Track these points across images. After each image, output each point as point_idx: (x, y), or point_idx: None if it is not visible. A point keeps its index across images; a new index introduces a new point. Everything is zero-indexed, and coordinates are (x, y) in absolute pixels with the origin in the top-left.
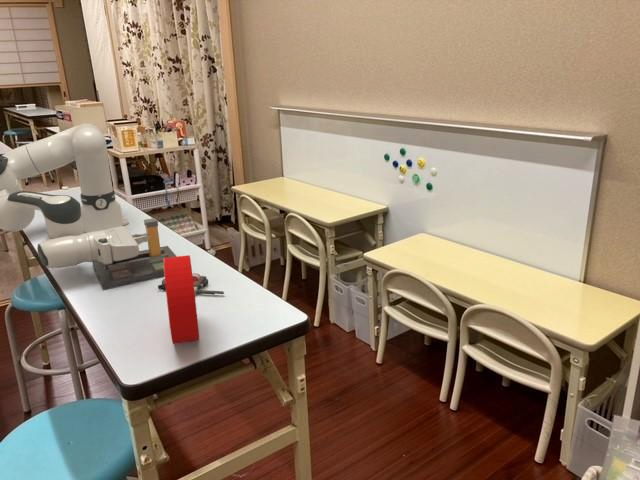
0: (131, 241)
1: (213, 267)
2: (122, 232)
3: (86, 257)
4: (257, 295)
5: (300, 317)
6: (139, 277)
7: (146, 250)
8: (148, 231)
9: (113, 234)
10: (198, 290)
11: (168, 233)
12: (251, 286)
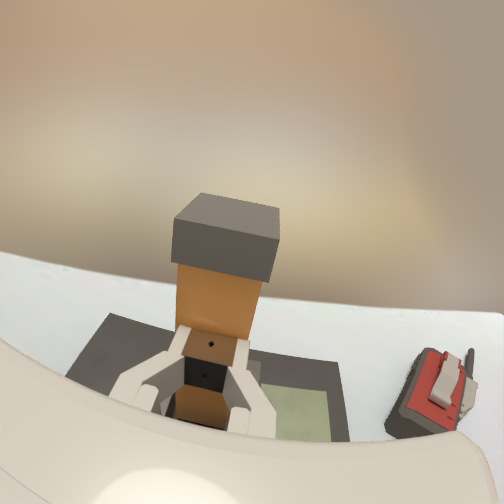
0: (414, 467)
1: (329, 319)
2: (50, 432)
3: None
4: (462, 321)
5: (500, 314)
6: None
7: (75, 373)
8: (255, 306)
9: (8, 499)
10: (472, 379)
11: (22, 262)
12: (435, 314)
